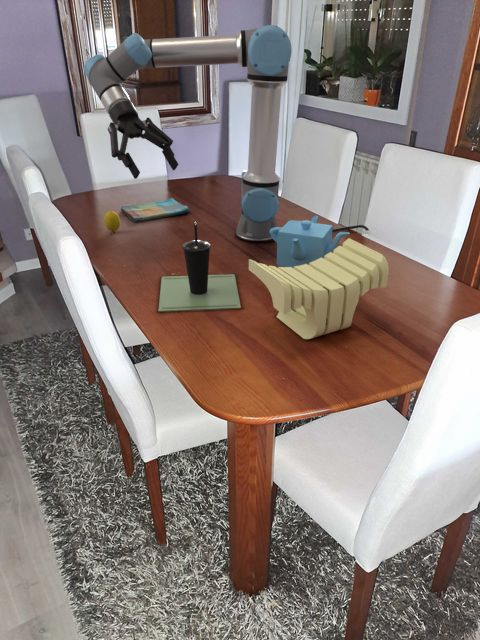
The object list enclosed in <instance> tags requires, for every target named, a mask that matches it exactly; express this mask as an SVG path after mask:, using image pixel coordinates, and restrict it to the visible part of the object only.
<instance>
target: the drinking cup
mask: <svg viewBox="0 0 480 640" xmlns="http://www.w3.org/2000/svg"><path fill="white" fill-rule="evenodd" d="M193 225H194V226H193V228H194V239H193V240H189V241H187V242H184V243H183V244H182V250H183V254H184V260H185V261H184V262H185V267H186V273H187V276H188V280H189V286H190V292H191V293H192V294H195V295H201V294H205V293H206V292H207V287H208V275H209V267H210V251H211V248H212V247H211V243H209V242H208V241H205V240H201V239H198V224H197V222H196V221H195V222H193Z"/></svg>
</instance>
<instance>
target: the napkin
mask: <svg viewBox="0 0 480 640" xmlns="http://www.w3.org/2000/svg"><path fill="white" fill-rule="evenodd" d="M159 289H160V291H159V300H158V309H157V310H158V313H171V312H173V313H174V312H194V311H196V312H197V311H222V310H240V309H242V306H241V301H240V295H239V290H238V286H237V279H236V274H235V273H231V274H230V273H228V274H208V287H207V292H206V293H205V294H201V295H195V294H192V293H191V292H190V286H189V280H188V275H174V276H173V275H172V276H170V275H169V276H161V279H160V288H159Z"/></svg>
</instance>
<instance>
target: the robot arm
mask: <svg viewBox="0 0 480 640" xmlns="http://www.w3.org/2000/svg"><path fill="white" fill-rule="evenodd" d="M292 49H293V48H292V43H291V40H290V37H289V35H288V34H287V32H286V31H285V30H284V29H283V28H282V27H280V26H277V25H273V24H265V25H261V26H259V27H255V28H250V29H242V30H238V32H237V33H236V34H224V35H223V34H222V35H203V36H188V37H187V36H185V37H170V38H169V37H168V38H151V39H150V38H149V39H144V38H143V37H142V36H141V35H140V34H139V33H137V32H133V33H132V34H131V35H129V36H128V37H126V38H125V39H124V41H122V42H121V43H120V44H119V45H118V46H117V47H116V48H115V49H114V50H113V51H112V52H111V53H110V54H108V55H107V56H104V55H102V54H95V55H93V56H90V57H88V58H87V60H85V62H84V64H83V72H84V74H85V76H86V78H87V80H88V83H89V85H90V86H91V87H92V89H93V91H94V93H95V94H96V95H97V97H98V99H99V101H100V102H101V104H102V106H103V108H104V109H105V111H106V113H107V114H108V117H109V118H110V120H111V121H112V122H111V121H110V122H109V125H108V127H107V131H108V134H109V140H110V152H111V157H112V158H113V159H116V158H117V160H118V161H121V162H122V164H123V166H124V167H125V168H127V169H128V171H129V173H131V175H132V177H133V179H134V180H137V179H138V177H139V175H140V174H141V171H140V169H139V168H138V166H137V165H136V162H135V161H134V159H133V157H132V156H131V154H130V152H126V150H127V147H128V141H129V139H130V140H134V139H139V138H141V139H143V140H147V141H148V142H150V143H152V144H153V145H155V146H157V147H158V148H159V149H161V150H162V151H161V153H162V155H163V156H164V158H165V160H166V161H167V163H168V165H169V166H170V168H171V170H172V171H176V169H177V168H178V167H179V162H178V161H177V159H176V157H175V153H174V151H173V149H172V148H171V146H172V145H173V144H174V140H173V139H172V138H171V137H170V136H168V134H166V133H165V132H164V131H163V130H161V128H159V127H158V126H157V125H156V124H155V123H154V122H153V121H152V118H150V117H146V119H144V120H143V119H141V118H140V117H139V113H138V111H137V109H136V107H135V105H134V104H133V102H132V101H131V98H130V97H129V95H128V93H127V92H126V90H125V88H124V87H123V85H122V84H123V83H124V82H126V81H127V80H128V79H129V78H130V77H131V76H132V75H134V74H135V73H136V72H137V71H139V70H141V69H156V68H157V69H158V68H175V67H197V66H219V65H238V66H239V67H241V68H247V71H246V80H247V82H248V83H249V84H250V86H251V98H250V115H249V116H250V117H249V118H250V119H249V137H248V138H249V139H248V158H247V169H244V170H243V171H242V172H241V177H240V182H241V184H240V185H241V195H240V196H241V198H240V199H241V200H240V201H241V202H240V209H241V215H240V218H239V221H238V224H237V227H236V230H235V231H236V233H235V234H236V238H238V239H239V240H241V241H243V242H246V243H247V242H248V243H255V244H257V243H258V244H260V243H269V242H273V241H274V240H273V238H272V237H271V235H270V229H272V228H274V227H279V226H278V223H277V219H276V215H277V213H278V211H279V208H280V201H279V189H280V177H279V175H278V174H277V173H276V166H277V153H278V141H279V138H278V137H279V127H280V126H279V125H280V115H281V114H280V113H281V100H282V98H281V97H282V89H283V87H284V86H285V85H286V84H287V83H288V78H289V77H288V76H289V66H290V61H291V58H292V51H293V50H292ZM118 132H119V133H120V134H122V136H121V142H120V147H119V140H118ZM344 227H345V228H344ZM361 228H362V229H364V230H365V231H369V227H367V226H366V225H364V224H357V225H350V226H349V225H348V226H343V227H339V228H333V230H332V233H336V232H342V231H345V230H353V229H361ZM277 235H278V232H277Z"/></svg>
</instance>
